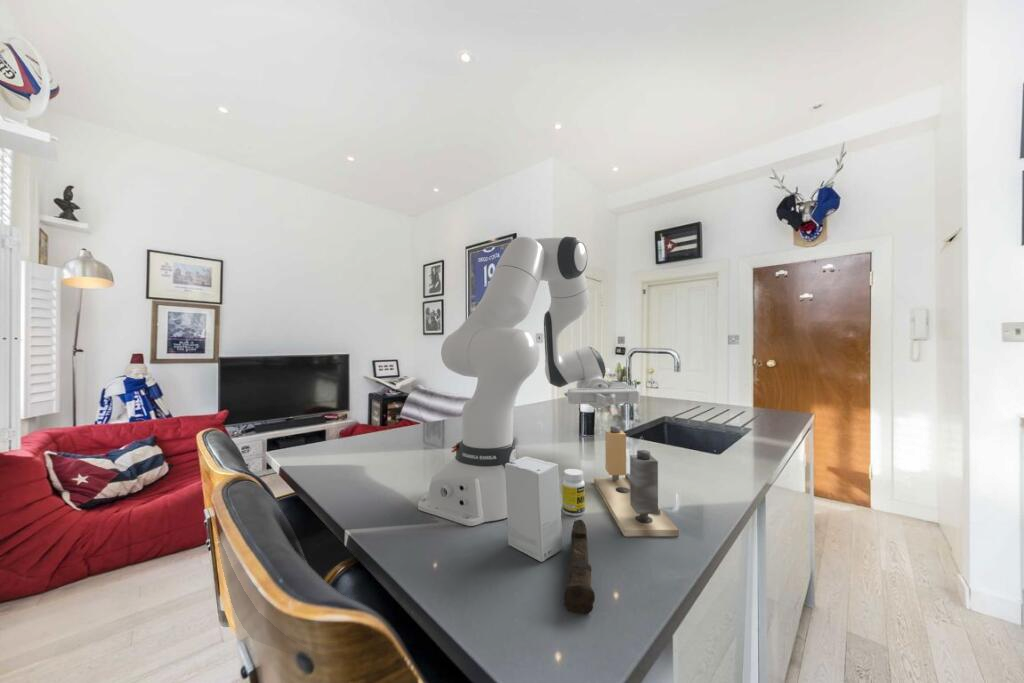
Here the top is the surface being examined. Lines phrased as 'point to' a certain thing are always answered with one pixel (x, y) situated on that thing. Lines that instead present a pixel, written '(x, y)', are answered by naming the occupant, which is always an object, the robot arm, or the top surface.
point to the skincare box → (533, 507)
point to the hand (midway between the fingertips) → (609, 400)
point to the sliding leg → (615, 452)
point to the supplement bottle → (573, 492)
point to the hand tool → (579, 573)
